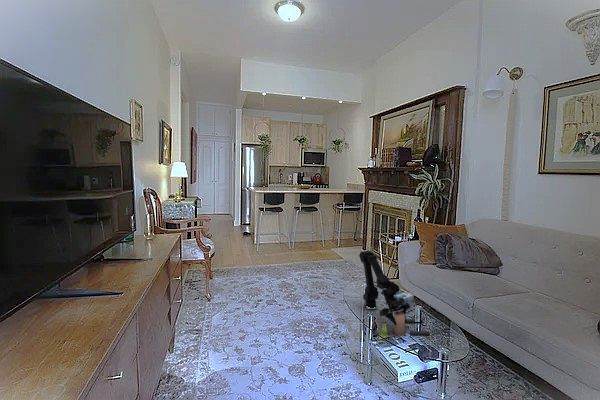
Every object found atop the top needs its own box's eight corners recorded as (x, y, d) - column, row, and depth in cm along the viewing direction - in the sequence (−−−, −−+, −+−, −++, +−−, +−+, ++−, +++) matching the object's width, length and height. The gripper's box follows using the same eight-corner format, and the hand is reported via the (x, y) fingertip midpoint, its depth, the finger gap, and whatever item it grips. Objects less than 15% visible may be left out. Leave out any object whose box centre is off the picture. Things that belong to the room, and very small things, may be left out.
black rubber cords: (410, 335, 191) (410, 332, 191) (404, 321, 206) (404, 318, 206) (430, 335, 190) (430, 332, 190) (422, 321, 205) (422, 318, 205)
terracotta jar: (395, 335, 192) (395, 317, 190) (393, 330, 198) (393, 311, 196) (405, 335, 191) (405, 317, 189) (403, 330, 197) (403, 311, 195)
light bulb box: (402, 314, 215) (402, 299, 213) (394, 310, 221) (394, 295, 219) (413, 310, 220) (414, 295, 218) (406, 306, 225) (406, 291, 224)
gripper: (381, 296, 191) (392, 323, 183) (408, 290, 197) (420, 316, 188) (374, 303, 200) (385, 329, 191) (400, 297, 206) (411, 322, 197)
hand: (400, 324), depth 192 cm, fingers closed on terracotta jar, 6 cm apart
